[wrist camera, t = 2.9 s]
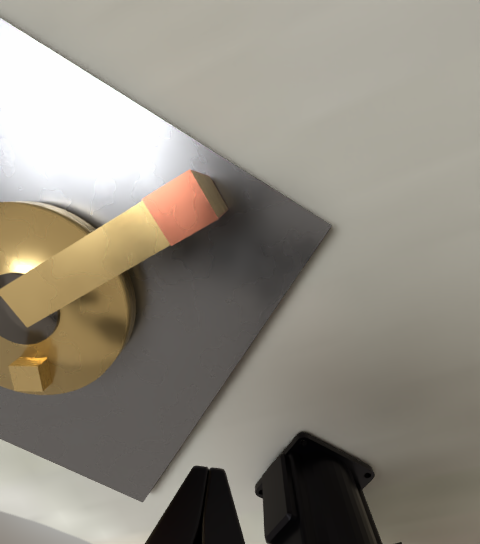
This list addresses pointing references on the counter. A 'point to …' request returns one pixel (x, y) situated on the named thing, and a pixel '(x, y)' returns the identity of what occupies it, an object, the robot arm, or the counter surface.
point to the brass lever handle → (83, 281)
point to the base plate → (140, 266)
